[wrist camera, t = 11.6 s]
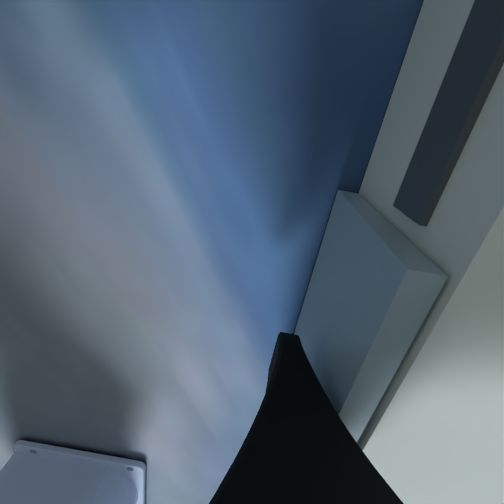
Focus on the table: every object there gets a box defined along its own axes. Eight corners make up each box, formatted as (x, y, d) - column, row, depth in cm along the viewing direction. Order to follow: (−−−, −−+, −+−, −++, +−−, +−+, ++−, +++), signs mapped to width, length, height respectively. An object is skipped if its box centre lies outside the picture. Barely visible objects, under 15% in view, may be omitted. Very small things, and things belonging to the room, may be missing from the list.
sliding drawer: (279, 379, 16) (282, 532, 10) (337, 189, 11) (407, 269, 5) (460, 412, 16) (567, 582, 10) (592, 237, 12) (932, 367, 6)
